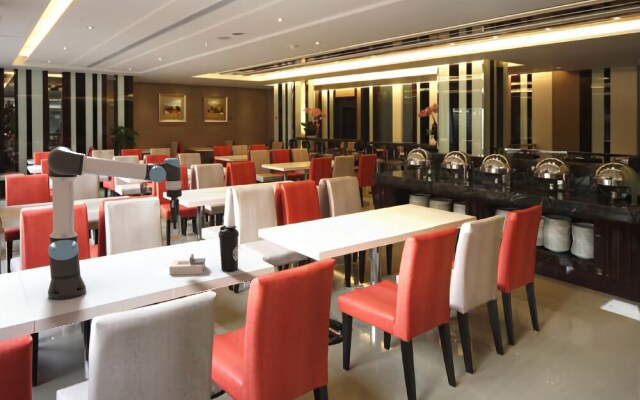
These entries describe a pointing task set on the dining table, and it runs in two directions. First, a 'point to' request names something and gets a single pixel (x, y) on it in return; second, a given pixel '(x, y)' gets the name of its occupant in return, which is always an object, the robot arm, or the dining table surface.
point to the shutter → (196, 260)
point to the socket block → (185, 267)
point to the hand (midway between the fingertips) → (176, 233)
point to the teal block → (178, 237)
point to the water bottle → (229, 248)
